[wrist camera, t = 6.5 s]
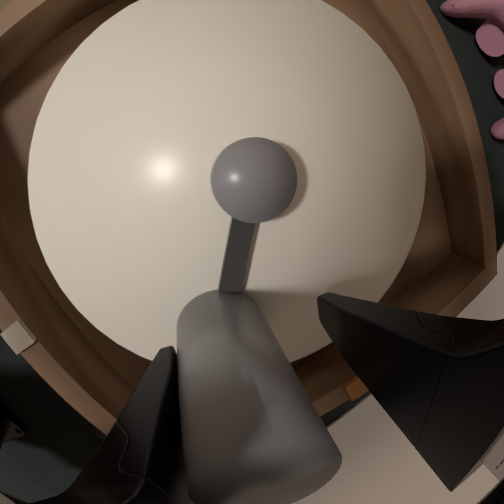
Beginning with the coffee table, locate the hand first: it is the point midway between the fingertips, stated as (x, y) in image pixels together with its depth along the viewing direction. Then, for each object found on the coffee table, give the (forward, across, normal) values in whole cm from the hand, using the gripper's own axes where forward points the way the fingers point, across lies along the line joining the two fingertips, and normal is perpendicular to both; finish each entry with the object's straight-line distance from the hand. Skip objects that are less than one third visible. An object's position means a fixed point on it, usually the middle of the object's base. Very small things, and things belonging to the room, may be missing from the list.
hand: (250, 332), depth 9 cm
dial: (+2, -1, -4) cm, 5 cm away
